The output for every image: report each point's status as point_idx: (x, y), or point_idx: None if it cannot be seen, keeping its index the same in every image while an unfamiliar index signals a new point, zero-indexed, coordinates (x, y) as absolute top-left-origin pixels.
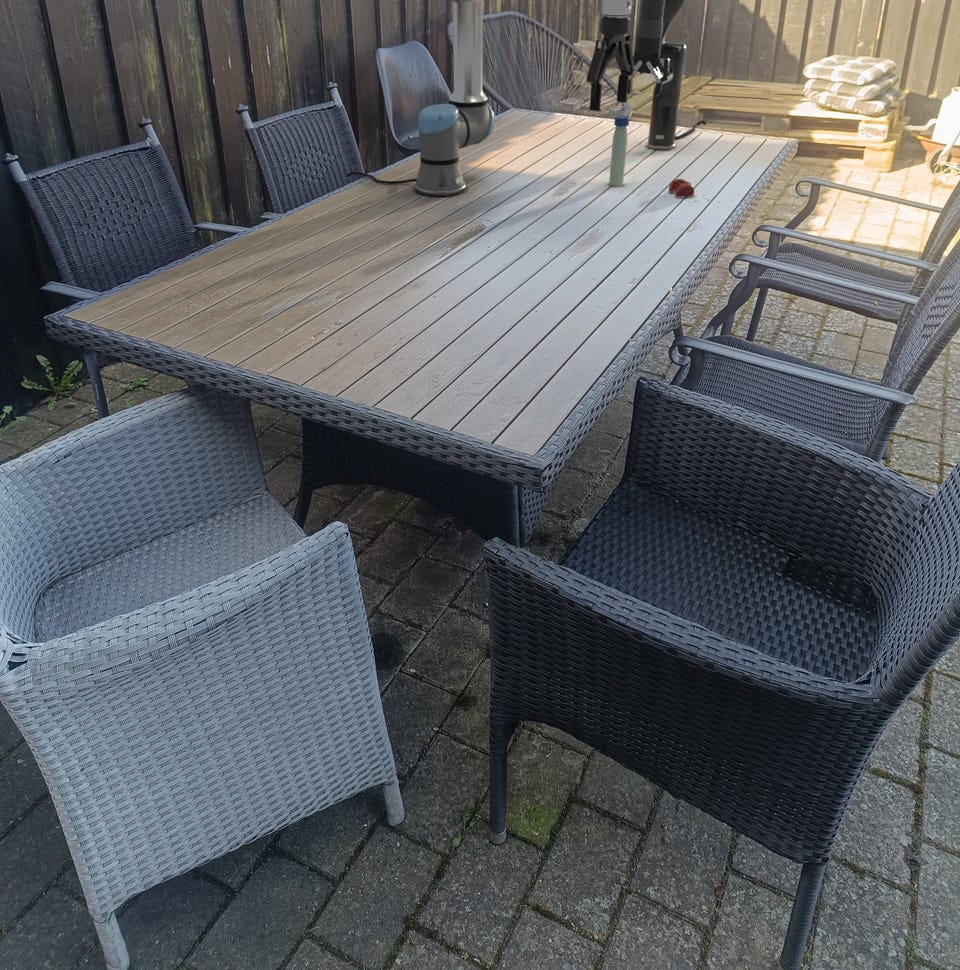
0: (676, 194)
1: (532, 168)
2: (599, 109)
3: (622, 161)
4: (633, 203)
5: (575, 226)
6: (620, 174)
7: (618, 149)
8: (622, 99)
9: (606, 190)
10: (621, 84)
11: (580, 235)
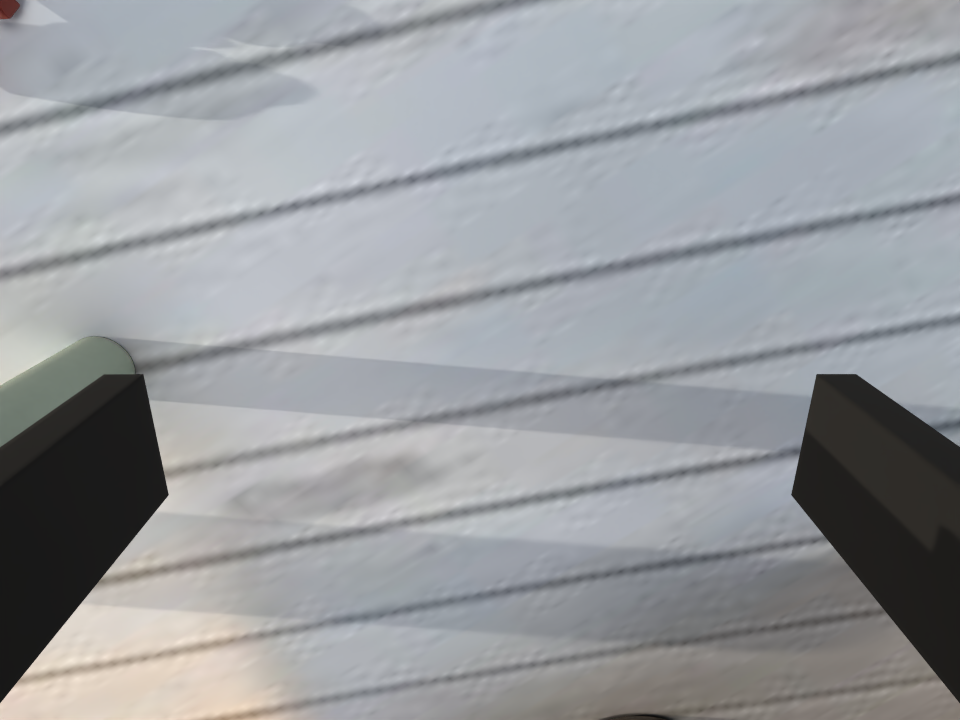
0: (11, 6)
1: (202, 707)
2: (841, 380)
3: (34, 384)
4: (276, 144)
5: (744, 181)
6: (81, 360)
7: (16, 433)
8: (135, 433)
9: (208, 352)
10: (12, 607)
11: (849, 89)
